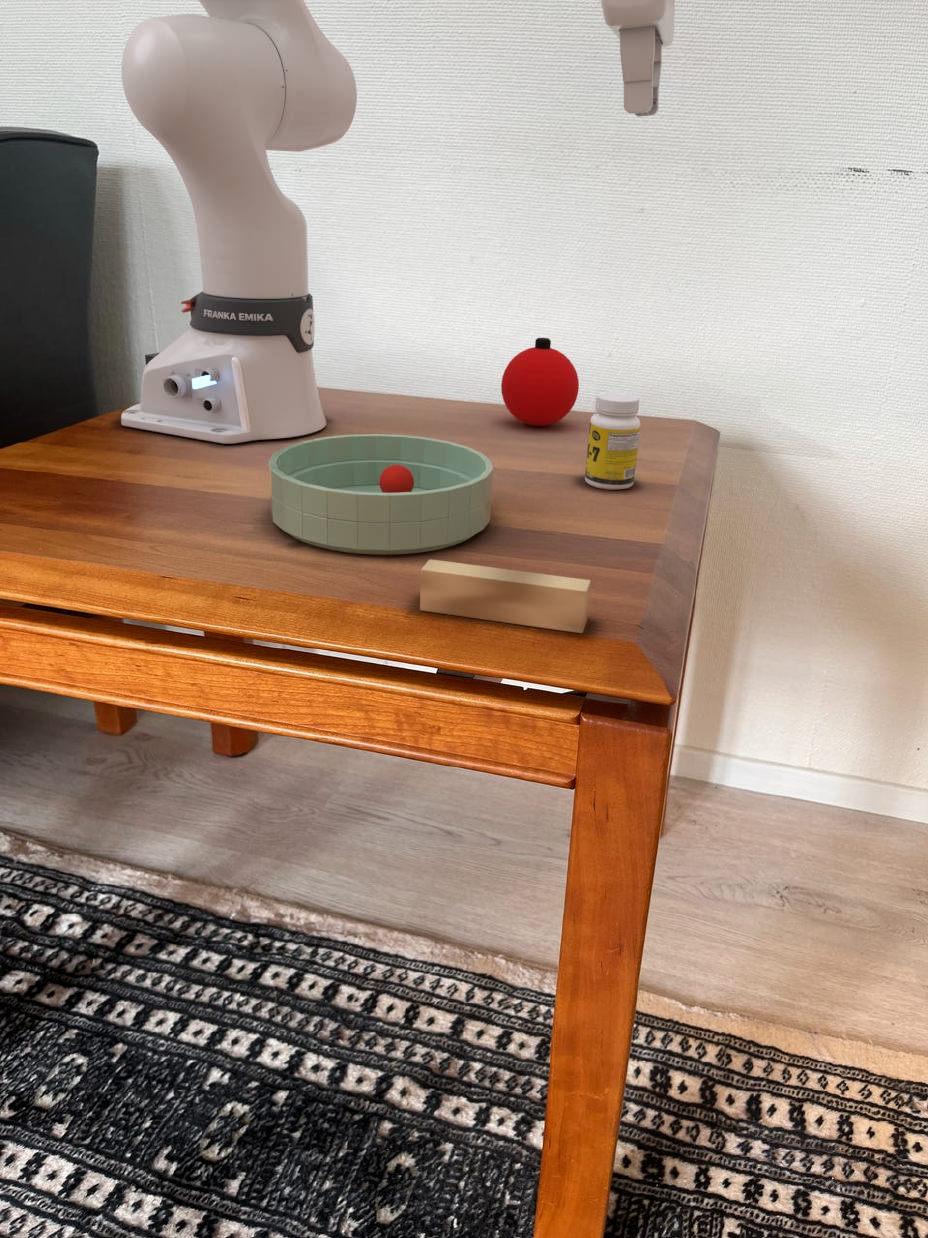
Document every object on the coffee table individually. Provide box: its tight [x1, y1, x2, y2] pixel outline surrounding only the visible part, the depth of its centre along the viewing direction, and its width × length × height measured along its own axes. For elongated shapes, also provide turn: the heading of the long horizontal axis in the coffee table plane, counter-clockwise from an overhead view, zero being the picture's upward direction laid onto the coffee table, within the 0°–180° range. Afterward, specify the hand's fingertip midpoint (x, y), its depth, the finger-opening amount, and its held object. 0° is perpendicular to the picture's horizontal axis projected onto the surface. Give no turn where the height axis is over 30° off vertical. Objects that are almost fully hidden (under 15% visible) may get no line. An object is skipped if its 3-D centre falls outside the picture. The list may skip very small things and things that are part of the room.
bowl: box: [267, 433, 494, 556], centre depth 82 cm, size 18×18×5 cm
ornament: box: [500, 337, 580, 427], centre depth 114 cm, size 9×9×10 cm
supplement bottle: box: [584, 391, 641, 491], centre depth 94 cm, size 5×5×8 cm
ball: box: [379, 465, 414, 493], centre depth 86 cm, size 3×3×3 cm
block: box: [419, 558, 592, 634], centre depth 65 cm, size 11×2×3 cm, turn 75°
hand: (642, 114), depth 69 cm, fingers open, 8 cm apart
